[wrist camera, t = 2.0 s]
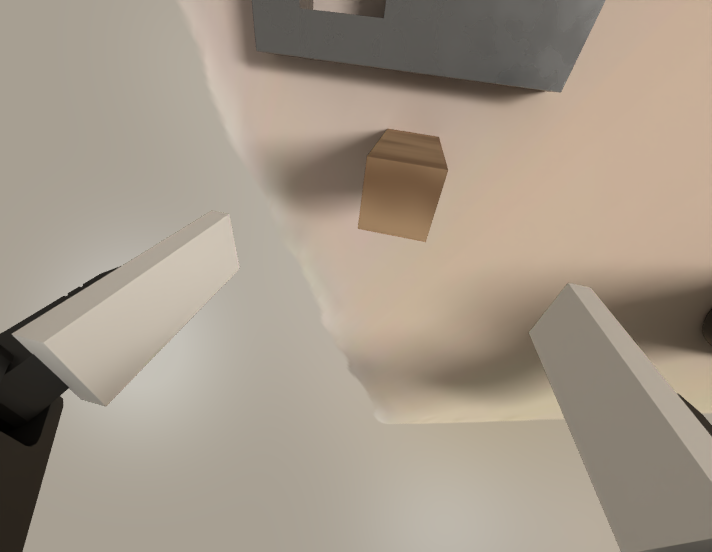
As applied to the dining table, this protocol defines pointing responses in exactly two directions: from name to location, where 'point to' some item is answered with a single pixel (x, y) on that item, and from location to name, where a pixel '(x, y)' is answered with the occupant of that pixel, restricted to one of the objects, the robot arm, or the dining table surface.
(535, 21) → the steel rail
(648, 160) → the dining table surface
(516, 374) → the dining table surface
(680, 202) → the dining table surface
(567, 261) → the dining table surface
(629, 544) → the robot arm
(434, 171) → the walnut block
